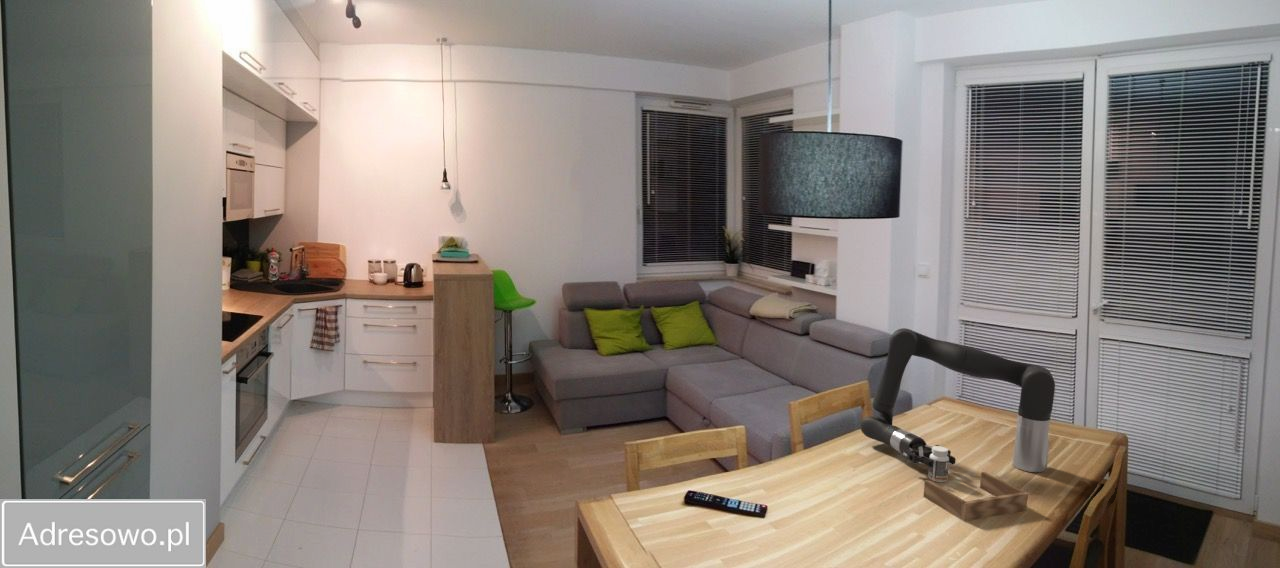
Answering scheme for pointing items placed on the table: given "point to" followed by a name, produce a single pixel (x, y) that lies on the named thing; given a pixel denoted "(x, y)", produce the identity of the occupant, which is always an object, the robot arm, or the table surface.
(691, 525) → the table surface
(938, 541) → the table surface
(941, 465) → the pill bottle
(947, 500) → the frame
